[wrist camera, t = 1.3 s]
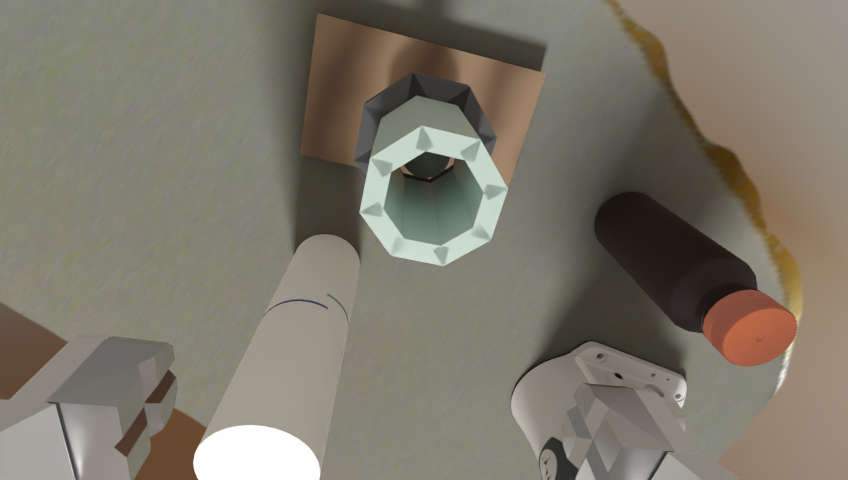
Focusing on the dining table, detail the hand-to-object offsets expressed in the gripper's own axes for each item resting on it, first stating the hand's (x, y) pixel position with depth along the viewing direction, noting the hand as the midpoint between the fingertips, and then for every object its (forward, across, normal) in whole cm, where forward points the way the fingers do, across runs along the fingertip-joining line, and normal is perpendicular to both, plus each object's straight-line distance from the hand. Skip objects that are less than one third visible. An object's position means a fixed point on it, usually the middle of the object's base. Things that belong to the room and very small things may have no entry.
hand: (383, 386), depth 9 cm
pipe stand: (+36, +2, -1) cm, 36 cm away
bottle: (+36, +26, -8) cm, 45 cm away
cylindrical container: (+36, -5, -18) cm, 41 cm away
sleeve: (+21, +2, 0) cm, 21 cm away
